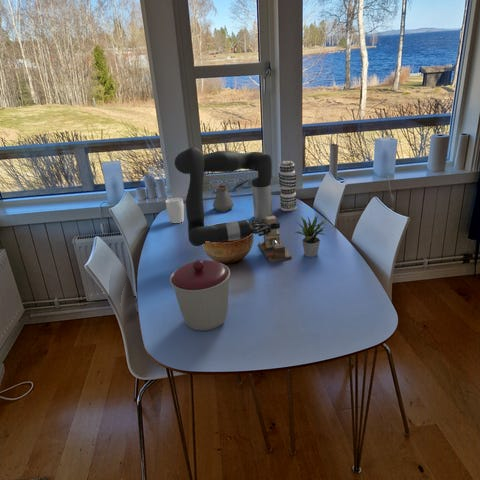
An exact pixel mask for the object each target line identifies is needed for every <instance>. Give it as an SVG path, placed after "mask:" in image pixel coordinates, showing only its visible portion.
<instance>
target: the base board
mask: <svg viewBox="0 0 480 480" xmlns="http://www.w3.org/2000/svg"><path fill="white" fill-rule="evenodd" d="M258 246H259V248H260V249H261V251H262V252H263V254H264V256H265V257H266V259H267V261H268V262H269V263H274V262H279V261H280V262H281V261H285V260H290V259H292V258H293V257H292V255H291V253H289V251H288V250H287V248H286V247H285V245H284V244H282V242H281V241H280V245H277V246H273V247H270V248H267V247H266V246H265V235H263V241H259V242H258Z"/></svg>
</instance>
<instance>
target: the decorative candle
mask: <svg viewBox="0 0 480 480" xmlns="http://www.w3.org/2000/svg"><path fill="white" fill-rule="evenodd" d="M295 165H296V164H295V163H294V162H293V161H292V160H283V161H281V162H280V164H279V165H278V166H279V172H278V173H277V174H278V178H279V179H278V184H279V188H280V195H279V198H280V200H279V201H280V203H279V204H280V210H281V211H284V212H285V211H286V212H291V211H295V210H297V205H298V203H297V193H296V188H297V174H296V171H295Z"/></svg>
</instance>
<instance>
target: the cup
mask: <svg viewBox="0 0 480 480" xmlns="http://www.w3.org/2000/svg"><path fill="white" fill-rule="evenodd" d="M184 204H185V203H184V199H183V198H182V197H179V196H178V197H176V196H175V197H170V198H168V199H166V200H165V208H166V211H167V214H168V217H169V220H170V224H172V223H180V224H182V223H184V222H185V211H184V210H185V205H184ZM183 221H184V222H183ZM181 222H182V223H181Z"/></svg>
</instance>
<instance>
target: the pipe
mask: <svg viewBox="0 0 480 480" xmlns="http://www.w3.org/2000/svg"><path fill="white" fill-rule="evenodd" d="M270 241H271V242H272V244H273V245H274V246H277V245H279V243H278V242H277V241H276V240H275V238H270Z"/></svg>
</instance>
